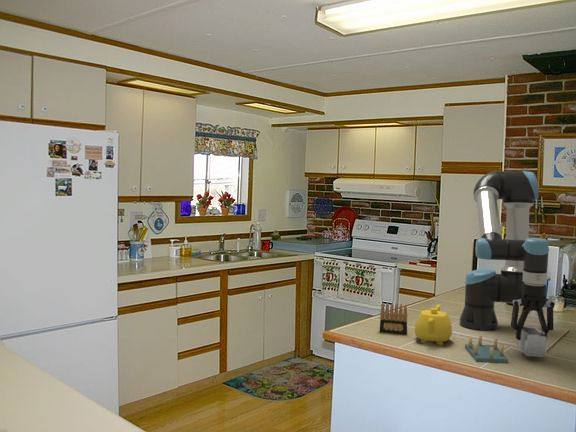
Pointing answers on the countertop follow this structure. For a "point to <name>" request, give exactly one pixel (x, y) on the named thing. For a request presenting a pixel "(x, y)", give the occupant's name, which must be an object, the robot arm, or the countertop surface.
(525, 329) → the grey box
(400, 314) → the ammunition clip
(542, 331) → the robot arm
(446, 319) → the teapot
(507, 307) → the countertop surface
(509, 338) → the countertop surface
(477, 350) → the pegboard
